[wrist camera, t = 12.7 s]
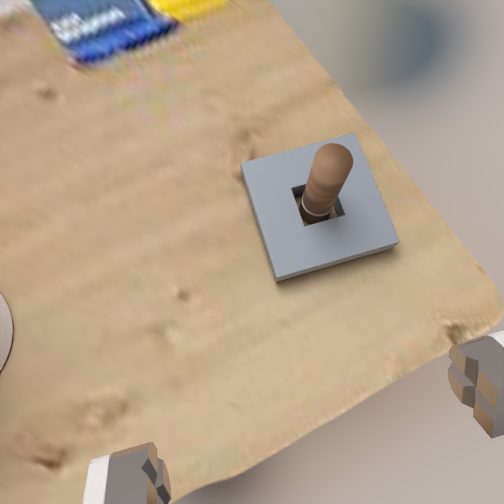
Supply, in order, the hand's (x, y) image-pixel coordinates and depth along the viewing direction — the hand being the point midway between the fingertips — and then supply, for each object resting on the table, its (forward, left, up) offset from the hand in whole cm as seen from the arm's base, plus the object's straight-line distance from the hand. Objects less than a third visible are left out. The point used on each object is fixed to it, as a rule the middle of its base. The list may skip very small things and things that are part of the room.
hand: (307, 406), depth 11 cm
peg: (+11, +16, -33) cm, 39 cm away
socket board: (+11, +16, -33) cm, 39 cm away
